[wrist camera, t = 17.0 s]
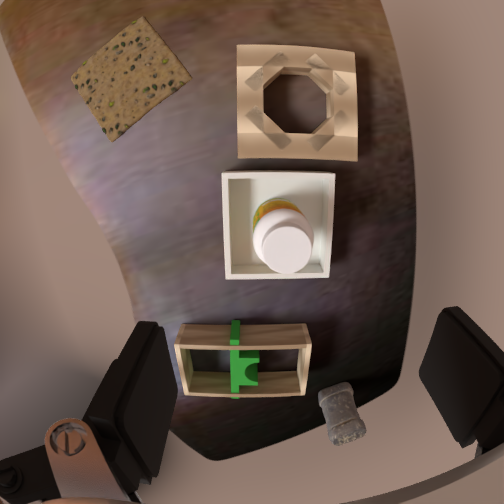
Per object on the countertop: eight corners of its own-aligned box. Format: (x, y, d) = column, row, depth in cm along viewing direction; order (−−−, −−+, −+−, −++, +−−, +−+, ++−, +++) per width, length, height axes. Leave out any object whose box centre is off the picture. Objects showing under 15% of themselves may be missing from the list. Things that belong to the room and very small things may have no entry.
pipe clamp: (256, 377, 40) (256, 399, 36) (232, 377, 40) (231, 398, 36) (259, 320, 37) (260, 341, 33) (231, 319, 37) (229, 340, 33)
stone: (315, 389, 41) (325, 439, 32) (350, 378, 41) (366, 426, 31) (319, 402, 42) (329, 450, 33) (353, 391, 42) (368, 438, 32)
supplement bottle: (249, 200, 31) (247, 222, 22) (298, 193, 31) (318, 212, 22) (256, 248, 33) (257, 286, 24) (304, 241, 33) (323, 277, 24)
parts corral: (181, 324, 37) (174, 344, 33) (305, 323, 37) (311, 343, 33) (190, 373, 40) (184, 395, 36) (300, 373, 40) (304, 395, 36)
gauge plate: (238, 54, 26) (236, 45, 23) (345, 59, 26) (354, 52, 23) (239, 157, 30) (237, 158, 27) (348, 160, 30) (357, 161, 27)
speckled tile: (196, 79, 28) (194, 77, 27) (113, 144, 30) (109, 144, 29) (145, 15, 24) (142, 12, 23) (71, 78, 27) (67, 77, 26)
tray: (224, 171, 31) (221, 173, 28) (327, 171, 31) (335, 173, 28) (227, 268, 34) (225, 279, 32) (322, 266, 34) (328, 277, 31)
